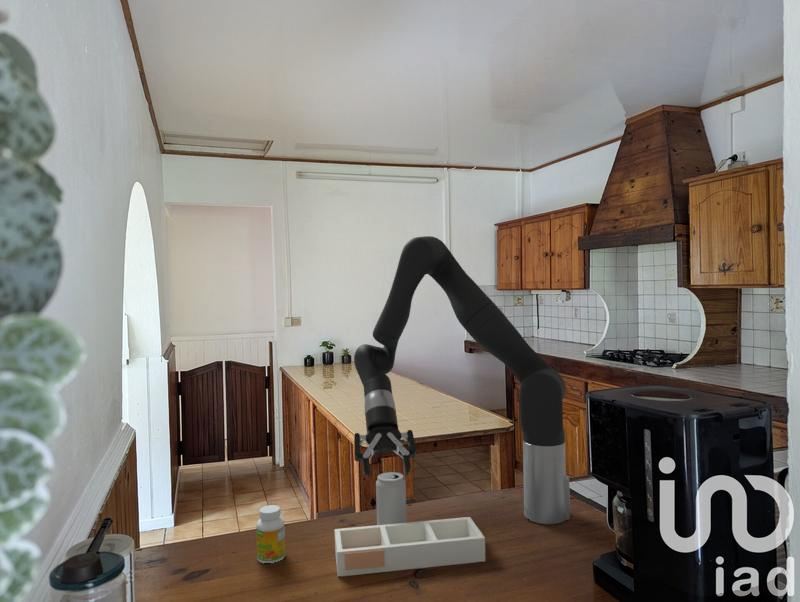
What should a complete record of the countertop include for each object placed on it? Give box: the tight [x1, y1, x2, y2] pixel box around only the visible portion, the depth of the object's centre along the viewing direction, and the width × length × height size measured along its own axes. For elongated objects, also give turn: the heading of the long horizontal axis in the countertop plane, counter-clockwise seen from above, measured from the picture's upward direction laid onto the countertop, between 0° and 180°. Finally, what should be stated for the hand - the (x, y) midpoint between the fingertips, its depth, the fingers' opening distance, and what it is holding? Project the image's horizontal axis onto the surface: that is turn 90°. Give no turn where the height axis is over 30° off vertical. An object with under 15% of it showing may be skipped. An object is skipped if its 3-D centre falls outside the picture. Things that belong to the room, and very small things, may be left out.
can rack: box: [334, 516, 486, 577], centre depth 108 cm, size 28×10×4 cm, turn 99°
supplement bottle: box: [255, 504, 286, 564], centre depth 109 cm, size 5×5×10 cm
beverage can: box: [375, 471, 408, 525], centre depth 120 cm, size 6×6×12 cm
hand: (387, 475), depth 125 cm, fingers open, 8 cm apart
